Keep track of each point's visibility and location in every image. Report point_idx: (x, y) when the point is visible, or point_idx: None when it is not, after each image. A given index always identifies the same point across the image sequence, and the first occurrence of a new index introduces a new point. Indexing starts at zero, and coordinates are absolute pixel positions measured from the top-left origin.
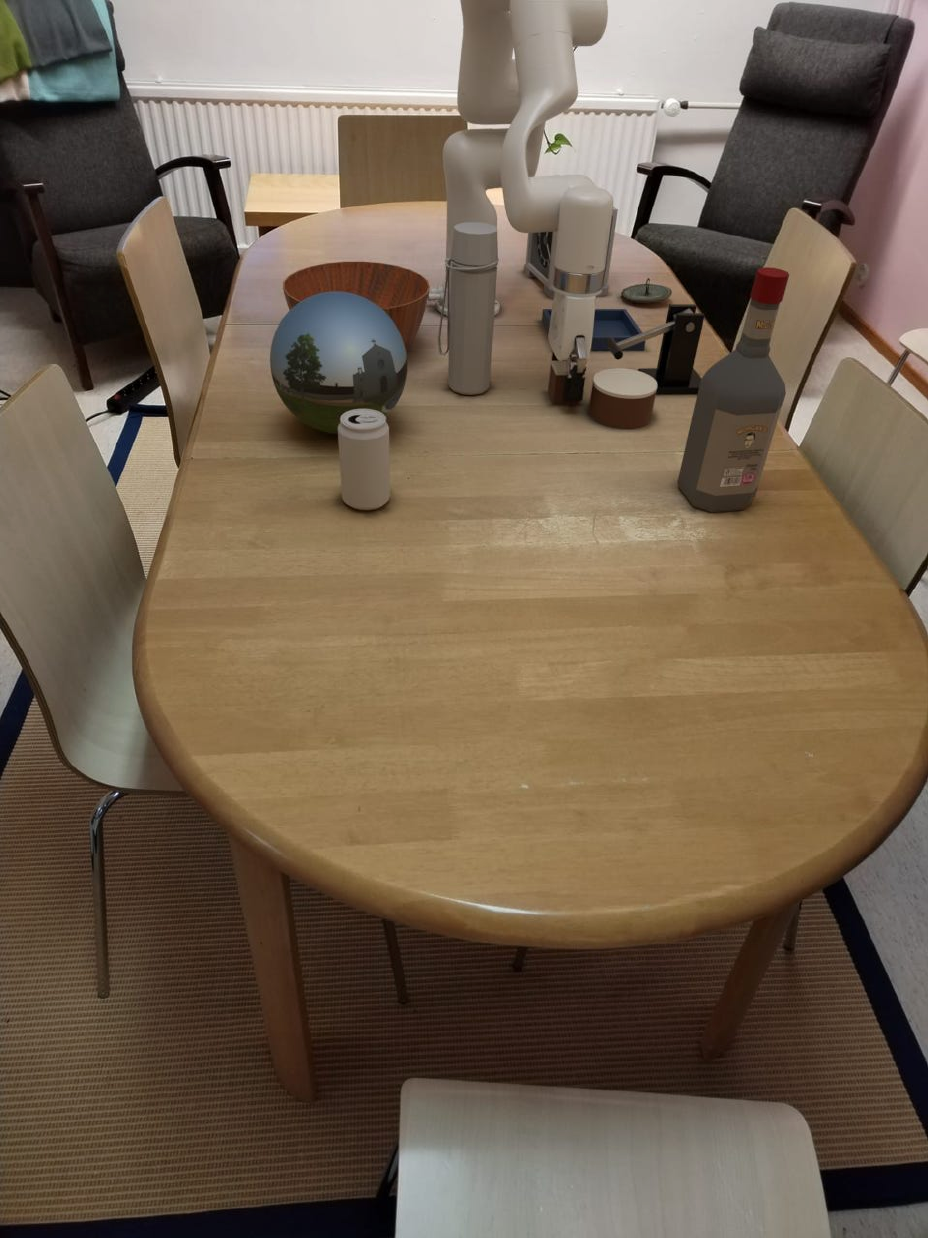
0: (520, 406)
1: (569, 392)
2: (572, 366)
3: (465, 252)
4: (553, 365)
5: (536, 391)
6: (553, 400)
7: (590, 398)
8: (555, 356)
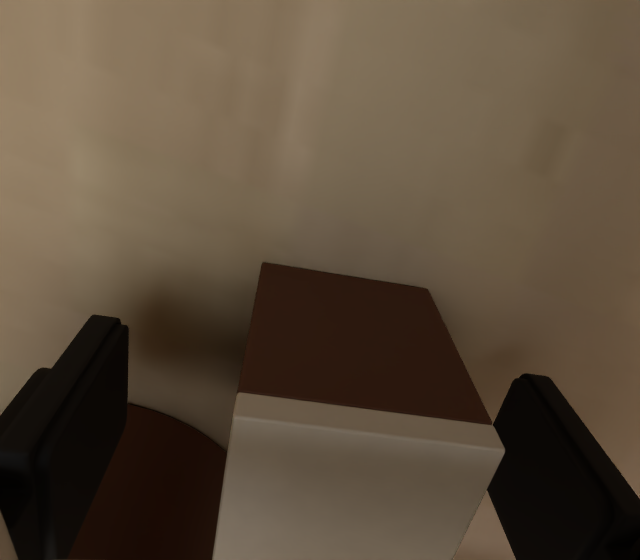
0: (278, 22)
1: (24, 385)
2: (322, 554)
3: None
4: (392, 435)
5: (474, 230)
6: (260, 275)
7: (111, 470)
8: (584, 503)
